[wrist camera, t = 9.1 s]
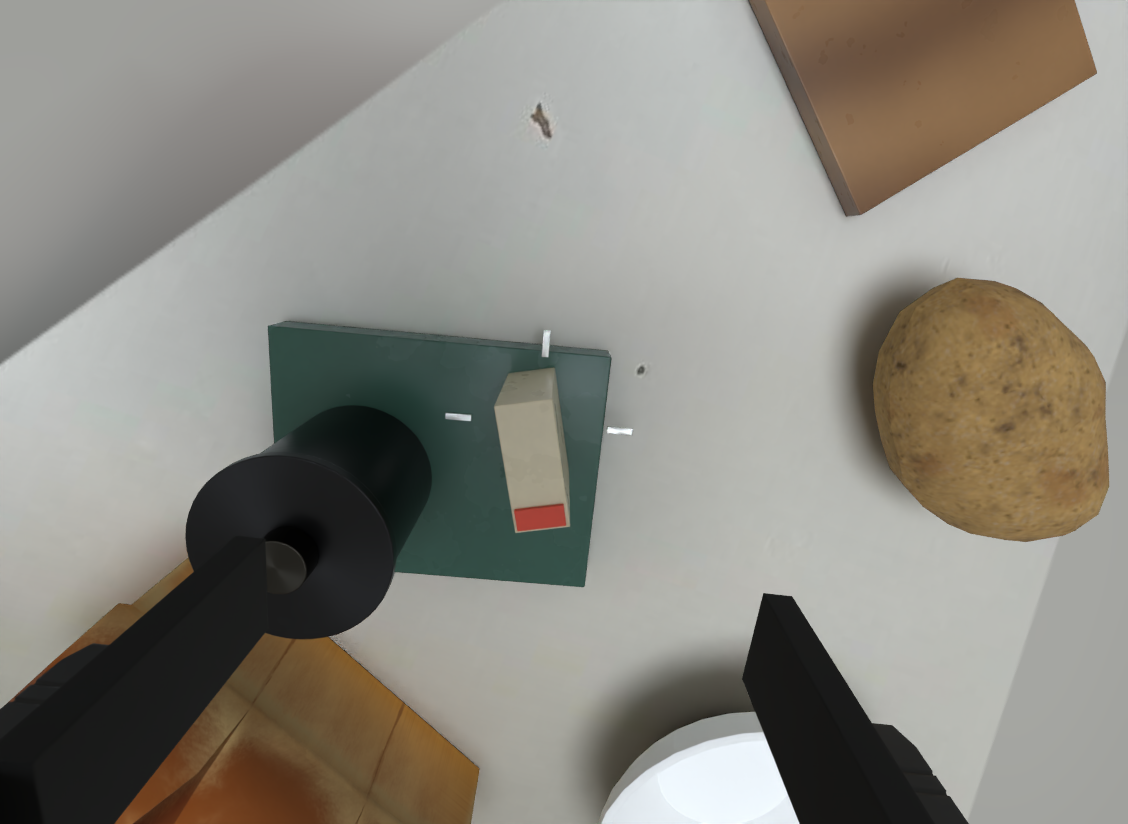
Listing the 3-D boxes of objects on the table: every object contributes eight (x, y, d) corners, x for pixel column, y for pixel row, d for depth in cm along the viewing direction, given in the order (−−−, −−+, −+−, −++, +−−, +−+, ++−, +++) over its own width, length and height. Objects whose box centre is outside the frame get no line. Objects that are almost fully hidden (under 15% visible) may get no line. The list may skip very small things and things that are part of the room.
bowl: (671, 899, 44) (690, 1015, 37) (533, 728, 39) (526, 826, 33) (908, 795, 41) (974, 901, 34) (788, 597, 36) (837, 675, 30)
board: (734, -32, 27) (743, -48, 25) (978, -201, 25) (1003, -229, 23) (846, 216, 30) (860, 215, 28) (1070, 82, 28) (1098, 72, 27)
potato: (973, 232, 30) (1114, 227, 22) (1048, 449, 33) (1192, 510, 26) (802, 323, 31) (879, 348, 24) (891, 523, 35) (984, 601, 27)
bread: (486, 770, 40) (444, 1056, 26) (364, 855, 42) (264, 1160, 28) (211, 529, 35) (-32, 723, 21) (88, 641, 37) (-206, 884, 23)
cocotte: (275, 396, 30) (147, 463, 21) (435, 402, 31) (378, 470, 21) (291, 540, 33) (183, 656, 24) (439, 544, 33) (390, 662, 24)
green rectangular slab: (284, 300, 31) (264, 304, 29) (639, 333, 31) (645, 339, 29) (295, 545, 35) (278, 564, 33) (608, 571, 36) (611, 591, 34)
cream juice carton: (508, 372, 30) (492, 407, 24) (554, 366, 30) (552, 400, 23) (524, 477, 32) (514, 536, 25) (569, 471, 32) (570, 529, 25)
